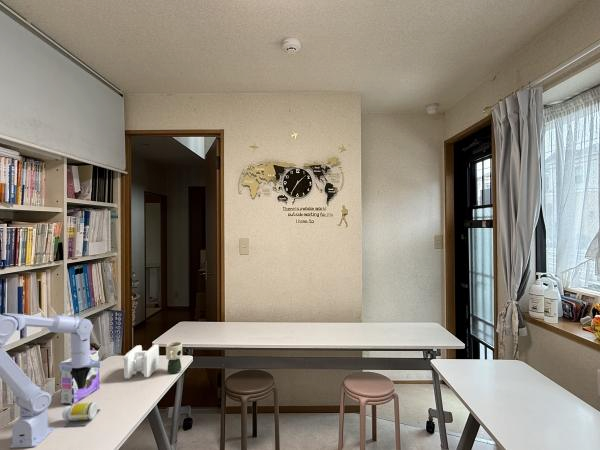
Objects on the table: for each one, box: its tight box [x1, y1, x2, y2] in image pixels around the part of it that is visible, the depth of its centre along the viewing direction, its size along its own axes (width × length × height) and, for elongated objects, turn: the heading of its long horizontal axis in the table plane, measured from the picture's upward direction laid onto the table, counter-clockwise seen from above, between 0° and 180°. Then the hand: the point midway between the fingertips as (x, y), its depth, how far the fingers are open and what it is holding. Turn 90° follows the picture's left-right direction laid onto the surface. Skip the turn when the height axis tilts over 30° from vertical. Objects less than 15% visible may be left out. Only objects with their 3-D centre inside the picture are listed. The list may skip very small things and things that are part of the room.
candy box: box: [60, 349, 100, 406], centre depth 141 cm, size 14×6×16 cm, turn 168°
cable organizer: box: [122, 343, 160, 379], centre depth 161 cm, size 15×11×12 cm
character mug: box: [165, 341, 183, 374], centre depth 163 cm, size 11×7×13 cm, turn 1°
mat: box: [64, 408, 101, 428], centre depth 125 cm, size 10×7×1 cm
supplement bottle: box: [61, 401, 98, 421], centre depth 123 cm, size 5×5×10 cm
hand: (81, 387), depth 127 cm, fingers closed
